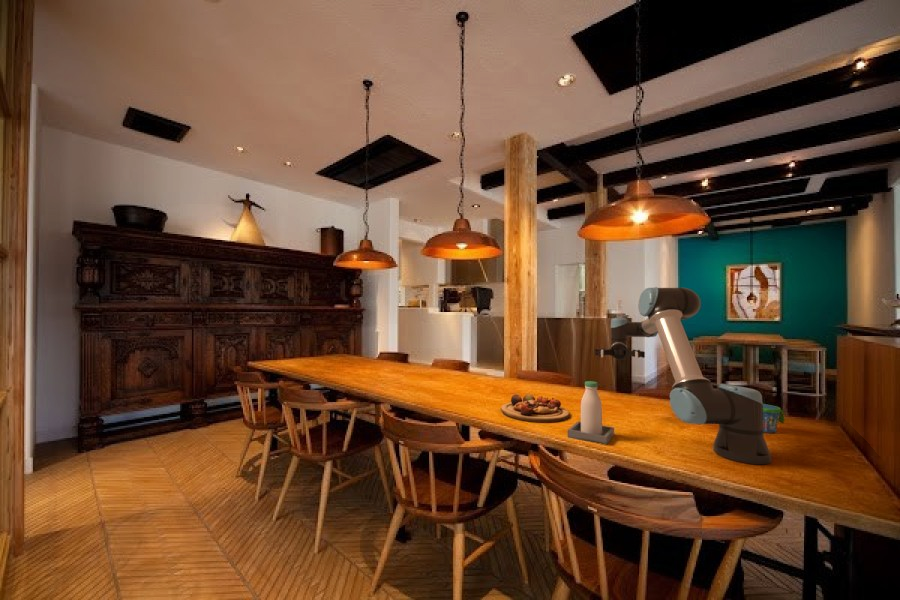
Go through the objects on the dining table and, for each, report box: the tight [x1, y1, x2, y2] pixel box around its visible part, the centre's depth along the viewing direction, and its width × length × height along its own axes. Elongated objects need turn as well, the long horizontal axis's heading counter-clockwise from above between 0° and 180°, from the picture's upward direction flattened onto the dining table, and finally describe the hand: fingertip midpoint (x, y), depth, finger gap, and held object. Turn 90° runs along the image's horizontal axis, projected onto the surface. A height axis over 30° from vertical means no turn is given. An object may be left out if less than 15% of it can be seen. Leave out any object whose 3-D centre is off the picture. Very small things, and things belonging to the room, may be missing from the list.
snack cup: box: [763, 403, 786, 434], centre depth 148 cm, size 16×10×10 cm
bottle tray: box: [567, 420, 615, 446], centre depth 139 cm, size 14×14×3 cm
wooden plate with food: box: [500, 393, 570, 423], centre depth 171 cm, size 32×32×8 cm
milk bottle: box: [580, 380, 603, 435], centre depth 140 cm, size 8×8×20 cm
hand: (619, 355), depth 153 cm, fingers open, 13 cm apart
